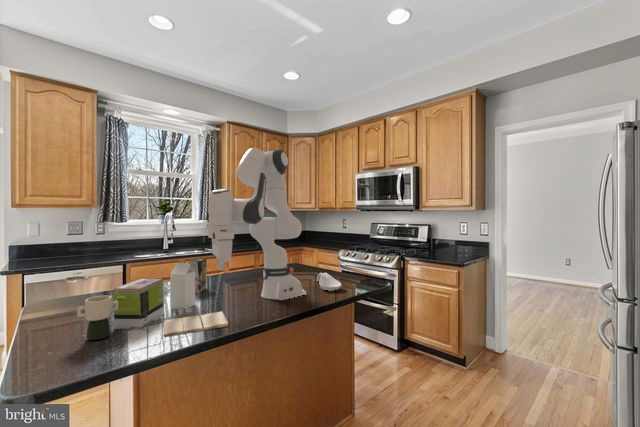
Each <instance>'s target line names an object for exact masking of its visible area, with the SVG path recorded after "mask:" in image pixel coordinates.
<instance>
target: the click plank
mask: <svg viewBox="0 0 640 427" xmlns="http://www.w3.org/2000/svg"><path fill="white" fill-rule="evenodd" d="M199 317H200V321H201V325H202V328H203V330H204V331H205V330H213V329H219V328H226V327H229V322H228V320H227V318H226V316H225V314H224V313H223V311H222V310H221V311H217V312H211V313H205V314H200V315H199Z"/></svg>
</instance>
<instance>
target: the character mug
mask: <svg viewBox="0 0 640 427" xmlns="http://www.w3.org/2000/svg"><path fill="white" fill-rule="evenodd" d="M114 304H115V308H114V307H112V306H113V305H114ZM82 310H84V313H82ZM115 310H118V301H114V300H112V295H97V296H95V295H94V296H92V297H89V298H86V299H85V300H84V305H83V306H82V305H81V306H79V307H77V310H76V311H77V312H76V313H77V314H76V315H77V316H76V317H77V318H85V320H87V321H89V322H88V325H87V331H86V339H88V340H92V341H93V340H95V341H96V340H101V339H105V338H107V337H108V336H109V335H111V328H110V327H111V326H110V323H109V319H108V318H110V317H111V316H112V312H114V311H115Z"/></svg>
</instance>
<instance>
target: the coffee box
mask: <svg viewBox="0 0 640 427" xmlns="http://www.w3.org/2000/svg"><path fill="white" fill-rule="evenodd" d="M187 264H190V266H191V267H192V269H193V270H194V271H195V294H197V293H201V292H203V291H205V289H207V258H194V259H191V260H188V262H187Z"/></svg>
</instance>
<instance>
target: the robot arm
mask: <svg viewBox="0 0 640 427" xmlns="http://www.w3.org/2000/svg"><path fill="white" fill-rule="evenodd" d="M288 167H289V157H288V155H287V153H286V152H285V150H282V149H274V150H270V151H263V150H262V149H261V148H259V147H252V148H249V149H248V150H246V151H245V153H244V154H243V155H242V158H241V159H240V161H239V163H238V165H237V167H236V176H237V178H238V179H239V181H240V182H241V183H242V184H243V185H246V186H247V187H251V188H254V189H253V194H252V197H250V198H235V197H233V194H232V190H231V189H227V188H220V189H219V188H218V189H214V190H212V191H210V193H209V197H208V206H207V209H208V210H207V212H208V213H207V214H208V216H209V218H208V219H209V220H208V223H207V224H208V225H207V229H208V230H207V236H208V237H207V238H208V239H209V238H210V239H211V243H212V244H211V246H212V247H211V248H212V249H211V253H212V255H213V256H214V257H216V263H217V269H218V270H219V271H224V269H225V262H230V261H231V260H232V251H233V240H234V239H235V233H234V224H249V226H248V231H249V233H250V236H251V237H252V238H253V239H254V240H256V241H257V242H258V243H259V245H260V247H261V248H262V250H263V251H262V252H263V260H264V261H263V262H264V265H263V266H264V267H263V273H262V276H263V285H262V291H261V294H260V296H261V298H263V299H267V300H268V299H269V300H277V301H284V300H290V299H294V297H295V298H299V297H298V296H300V297H303V296H302V295H305V296H307V292H306V290H304V288H302V283H301V281H300V280H299V279H297V277H295V276H293V275H292V274H291V273H293V272H294V271H295V270H294V268H293V267H289V266H288V264H287V263H288V257H287V256H288V254H287V250H286V249H285V248H284V247H282V246H280V245H277V244H276V243H275V240H290V239H291V240H292V239H296V238H298V237H299V236H300V235H301V233H302V230H303V228H302V227H303V225H302V223H301V221H300V219H298V218H297V217H296V216H294V215H293V214H292V212H291V211H290V208H289V206H288V199H287V198H288V197H287V196H288V195H287V182H286V177H285V173H286V171H287V169H288ZM265 207H266V209H267V210H268V211H270V212H273V213H275V215H276V216H273V217H271V216H267V217H266V216H265ZM289 298H290V299H289Z"/></svg>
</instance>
